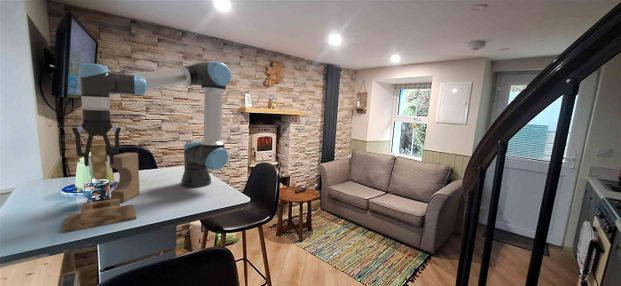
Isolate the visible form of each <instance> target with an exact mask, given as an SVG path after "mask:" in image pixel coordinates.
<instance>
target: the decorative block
mask: <svg viewBox="0 0 621 286" xmlns="http://www.w3.org/2000/svg"><path fill="white" fill-rule="evenodd" d="M113 157H114V163H113V164H110V169H114V170H117V172H118V174H119V175H118V176H119V181H118V183H117V185H116V186H115V188H114V189H113V190H110V198H111V199H118V198H120V203H121V204H123V203H125V202H127V201H129V200H130V199H133V198H135V197H137V196H139V195H140V175H139V173H140V172H139V153H137V152H123V153H119V154H115V155H114V156H113ZM111 199H110V200H111Z"/></svg>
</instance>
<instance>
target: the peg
mask: <svg viewBox="0 0 621 286" xmlns="http://www.w3.org/2000/svg"><path fill="white" fill-rule="evenodd" d="M107 155H108V150H107V147H106V144H93V145H92V144H91V148H90V156H91V160H92V165H93V177H94V180H98V181H99V180H104V179H107Z"/></svg>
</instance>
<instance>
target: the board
mask: <svg viewBox="0 0 621 286" xmlns="http://www.w3.org/2000/svg"><path fill="white" fill-rule="evenodd" d="M65 219H66V220H65V222H64V224H63V228H62V233H63V234H64V233H68V232H75V231H79V230H86V229H91V228H96V227H100V226H107V225H110V224H111V225H113V224H117V223H122V222H126V221H127V222H128V221H132V220H137V214H136V210H135V206H134V204H129V205H123V206H122V205H121V202H120V198H118V199H105V200H98V201H90V202H84V203H82V206H81V210H80V212H78V213H71V214H67V216H66V218H65Z"/></svg>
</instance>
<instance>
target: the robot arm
mask: <svg viewBox="0 0 621 286" xmlns="http://www.w3.org/2000/svg"><path fill="white" fill-rule="evenodd" d="M79 67H80V68H79V79H80V91H81V97H80V98H81V107H82V108H83V110H82V123H81V125H78V126H74V127H72V128H71V131H72V132H73V133H74V137H75V140H74V141H75V149H76V155H77V157H82V158H84V160H83V161H84V167H88V173H89V174H88V176H90V177H91V176H94V170H93V163H92V160H91V155H90V153H91V146H92V144H93V139H94V137H95V136H99V137H100V136H101V137H102V138H103V142H104V143H105V144H104V145H106V147H107V162H106V170H107V174H108V175H110V174H111V168H110V164H113V163H114V157H113V156H115V155H119V154H120V132H121V130H122V128H121V126H115V125H113V124H112V122H111V120H112V119H111V111H110V110H109V109H111V107H110V101H111V100H110V95H128V96H129V95H131V96H132V95H133V96H143V95H145V94H146V91H147V90H153V89H154V90H155V89H161V88H167V87H175V86H182V85H183V86H185V87H189V86H191V87H192V86H200V87H201V90H202V91H203V93H204V97H203V98H204V102H203V103H204V105H203V108H204V109H203V139H202V141H195V142H186V143H184V145H183V159H184V161H183V163H184V169H183V170H184V172H183V174H182V178H181V180H180V182H181V183H180V185H181V186H182V187H185V188H201V187H206V186H208V185H210V184H212V177H211V175H210V171H219V170H221V169H223V168H224V167H225V166H226V165H227V163H228V161H229V157H230V156H229V153H228V151H227V150H226V148H225V143H224V141H222V128H223V127H222V126H223V125H222V124H223V123H222V122H223V96H224V95H223V94H224V93H225V92H226V91H227V86H228V85H229V84H230V83H231V80H232V73H231V70H230V69H229V67H228V65H226V64H225V63H223V62H221V61H215V60H213V61H208V62H199V63H195V64H191V65H184V66H180V67H179V68H175V69H164V70H153V71H141V72H133V73H118V72H112V71H109V68H108V66H107V65H104V64H100V63H99V64H97V63H90V62H88V63H87V62H85V63H82V64H80V66H79ZM111 129H112V132H113V133H114V150H113V148H112V146H111V143H110V139H109V137H108V133H109V132H110V130H111ZM82 130H84V131H85V132H86V133H87V134H88V137H87V141H86V146H85V149H84V151H83V147H82V139H81V133H82ZM209 170H210V171H209Z"/></svg>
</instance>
